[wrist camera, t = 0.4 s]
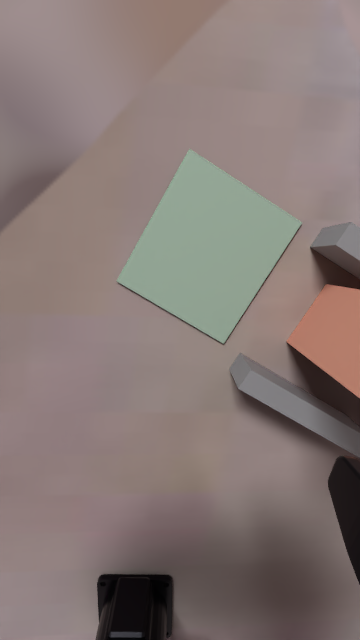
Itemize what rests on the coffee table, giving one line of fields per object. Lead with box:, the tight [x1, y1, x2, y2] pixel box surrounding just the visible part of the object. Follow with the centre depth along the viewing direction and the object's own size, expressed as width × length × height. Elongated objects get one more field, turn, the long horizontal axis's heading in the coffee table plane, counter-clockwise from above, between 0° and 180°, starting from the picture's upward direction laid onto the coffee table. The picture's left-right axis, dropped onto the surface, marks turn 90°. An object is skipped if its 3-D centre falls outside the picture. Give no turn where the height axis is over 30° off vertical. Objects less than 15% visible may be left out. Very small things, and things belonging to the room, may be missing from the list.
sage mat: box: [117, 149, 302, 344], centre depth 21 cm, size 10×9×1 cm
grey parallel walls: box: [229, 222, 360, 458], centre depth 21 cm, size 12×10×4 cm
